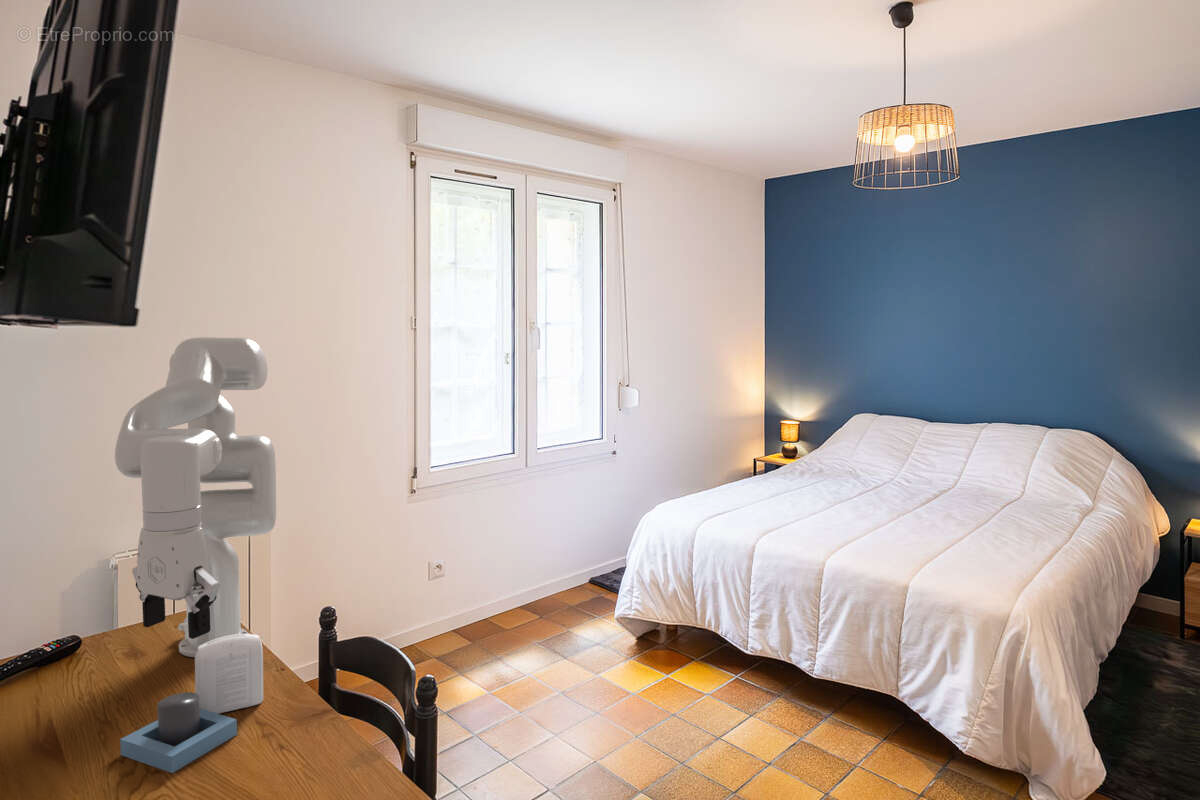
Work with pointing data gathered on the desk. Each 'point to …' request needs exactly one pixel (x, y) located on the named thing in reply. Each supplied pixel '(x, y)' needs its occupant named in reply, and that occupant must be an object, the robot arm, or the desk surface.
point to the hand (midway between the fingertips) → (176, 629)
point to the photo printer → (229, 673)
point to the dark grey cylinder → (178, 718)
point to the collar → (171, 758)
